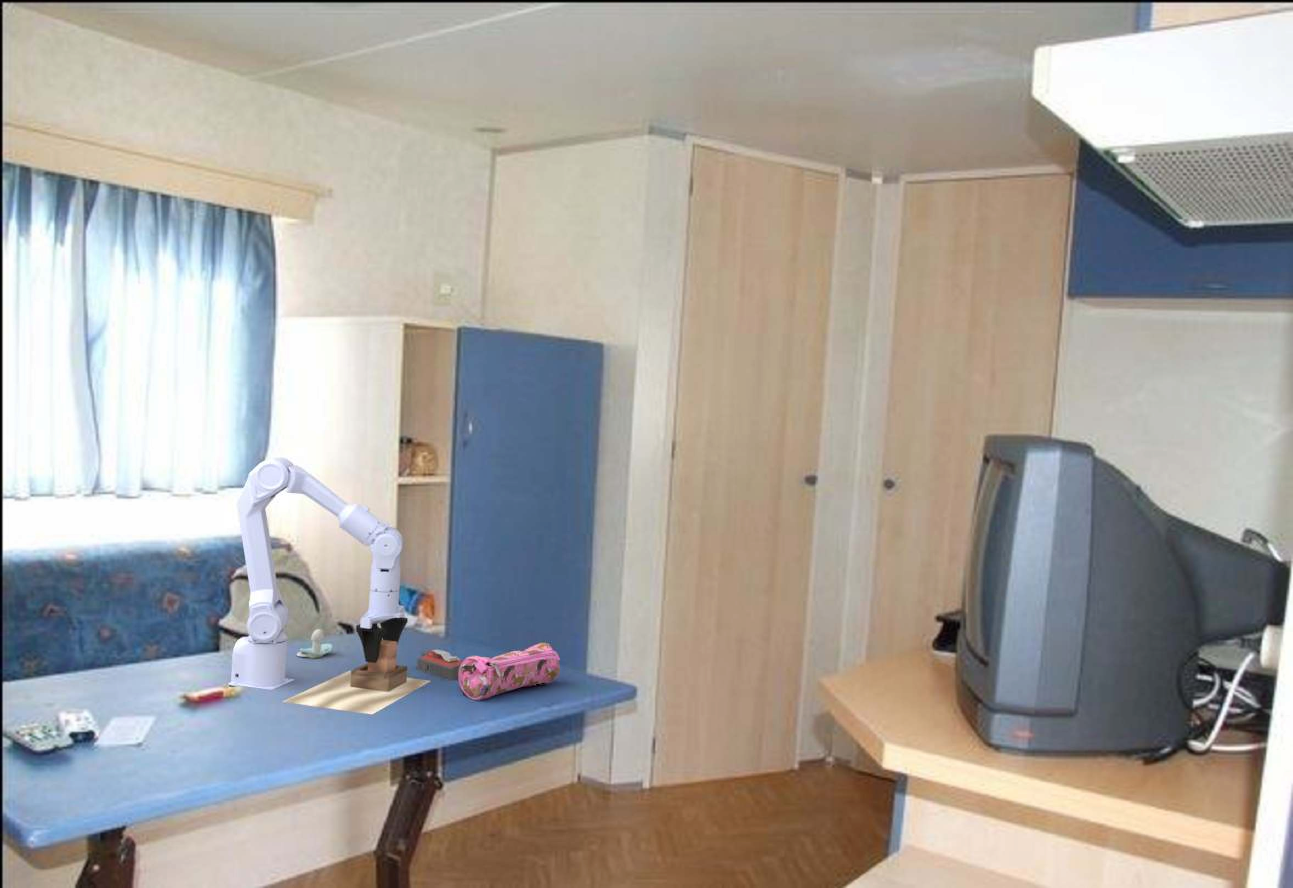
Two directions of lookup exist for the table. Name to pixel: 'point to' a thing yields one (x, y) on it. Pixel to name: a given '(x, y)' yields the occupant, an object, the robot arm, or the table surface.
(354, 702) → the build mat
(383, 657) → the block
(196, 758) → the table surface
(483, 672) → the pencil case
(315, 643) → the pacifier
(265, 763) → the table surface
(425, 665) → the grey red box
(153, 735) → the table surface
